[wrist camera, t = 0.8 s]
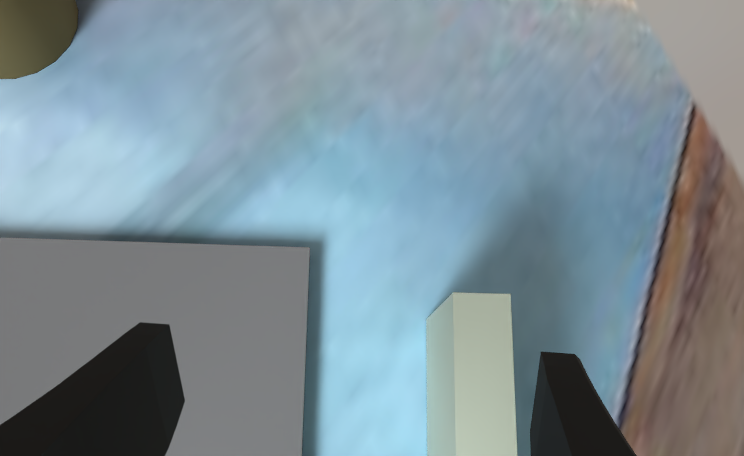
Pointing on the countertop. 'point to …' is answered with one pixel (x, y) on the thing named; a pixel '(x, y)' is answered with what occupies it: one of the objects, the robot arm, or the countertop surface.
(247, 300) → the cabinet base
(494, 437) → the door
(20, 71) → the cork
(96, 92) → the countertop surface
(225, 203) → the countertop surface
